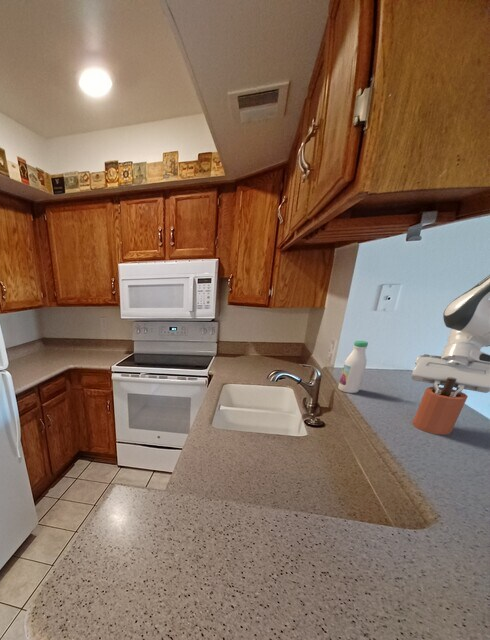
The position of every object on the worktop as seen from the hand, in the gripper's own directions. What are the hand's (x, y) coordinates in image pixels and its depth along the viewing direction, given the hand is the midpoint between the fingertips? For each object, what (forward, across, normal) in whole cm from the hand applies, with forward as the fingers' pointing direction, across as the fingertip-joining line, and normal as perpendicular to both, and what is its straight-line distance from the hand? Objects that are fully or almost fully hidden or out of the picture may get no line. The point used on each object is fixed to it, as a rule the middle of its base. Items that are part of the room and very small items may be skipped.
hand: (444, 397), depth 101 cm
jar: (+7, 0, +8) cm, 11 cm away
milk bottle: (-7, -29, +22) cm, 38 cm away
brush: (+6, 0, +7) cm, 9 cm away
